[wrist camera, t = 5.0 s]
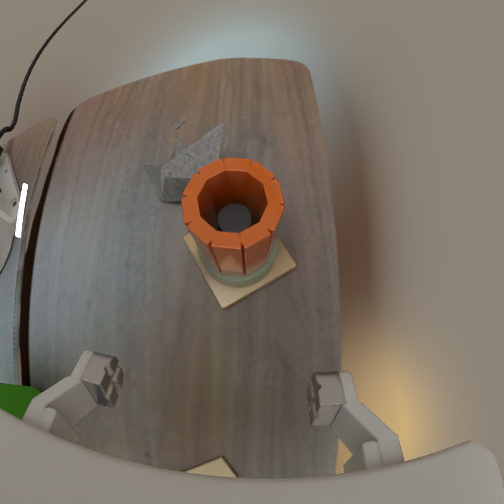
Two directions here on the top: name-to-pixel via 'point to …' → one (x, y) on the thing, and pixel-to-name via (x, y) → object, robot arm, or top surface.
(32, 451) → the robot arm
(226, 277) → the stacking tower
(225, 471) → the beige mat
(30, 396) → the cup
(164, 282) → the top surface
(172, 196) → the paper boat
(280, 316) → the top surface
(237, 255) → the orange hollow cylinder
